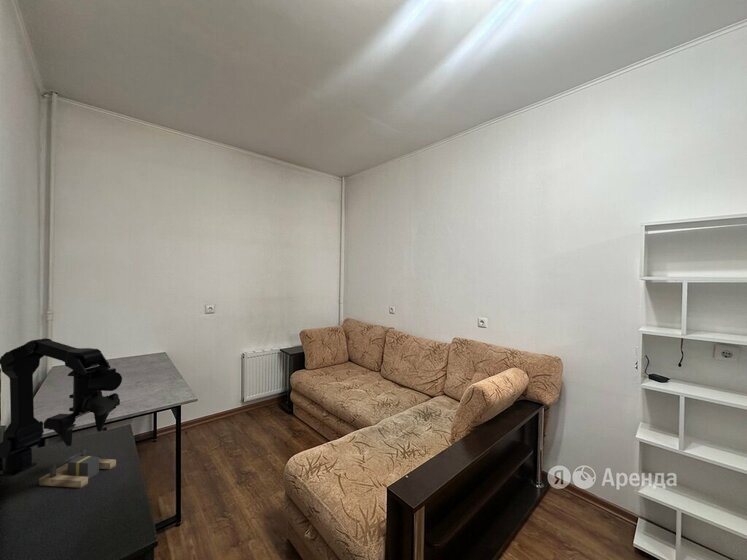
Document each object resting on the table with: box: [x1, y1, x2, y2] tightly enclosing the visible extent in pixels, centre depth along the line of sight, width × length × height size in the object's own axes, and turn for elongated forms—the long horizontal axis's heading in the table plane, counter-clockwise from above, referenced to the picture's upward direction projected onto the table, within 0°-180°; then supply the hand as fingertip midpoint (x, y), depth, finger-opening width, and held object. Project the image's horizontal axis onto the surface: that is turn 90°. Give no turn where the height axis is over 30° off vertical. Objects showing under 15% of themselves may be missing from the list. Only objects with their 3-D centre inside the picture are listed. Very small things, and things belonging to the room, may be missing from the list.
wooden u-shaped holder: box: [38, 449, 117, 489], centre depth 95 cm, size 14×11×5 cm
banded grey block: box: [67, 455, 100, 480], centre depth 95 cm, size 4×7×5 cm, turn 85°
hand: (84, 438), depth 95 cm, fingers open, 9 cm apart
